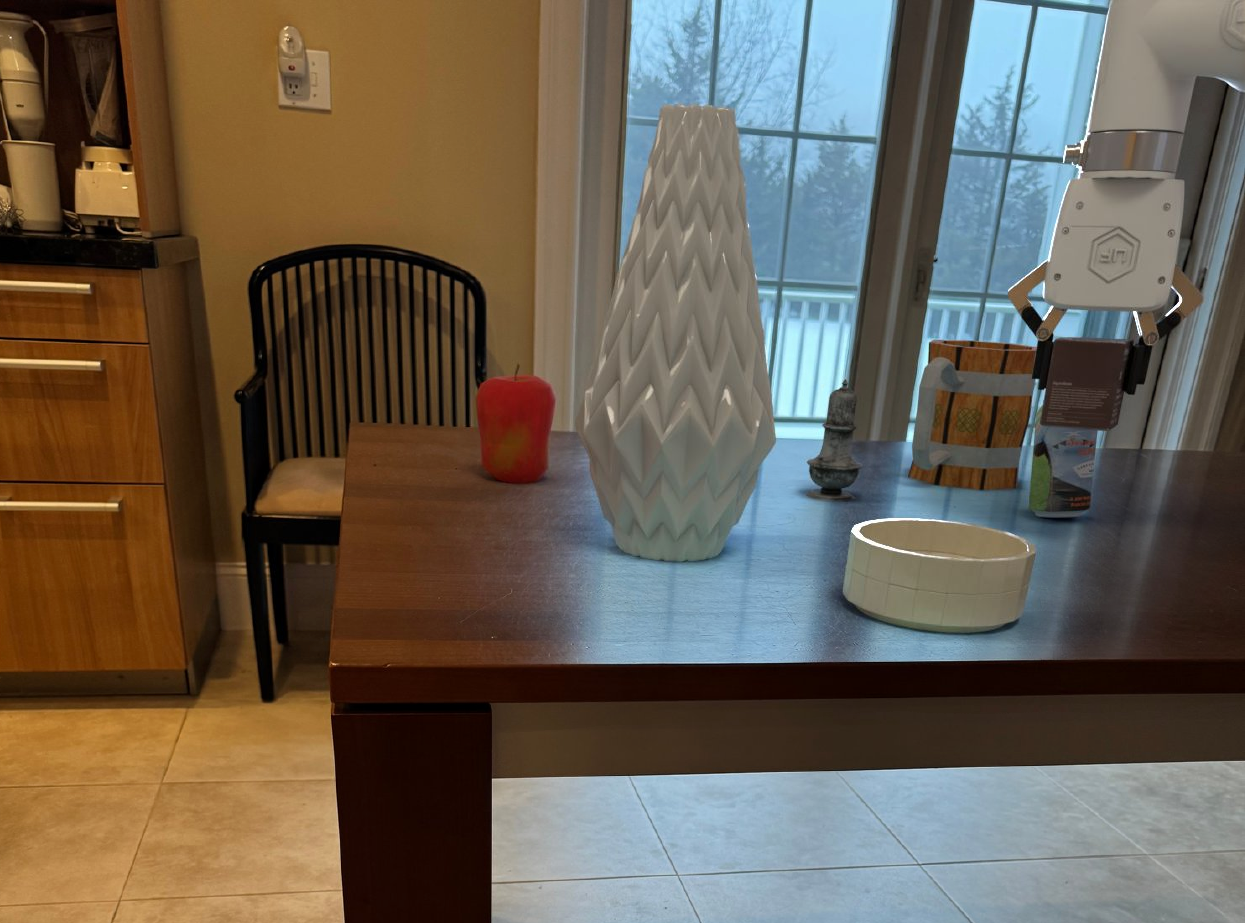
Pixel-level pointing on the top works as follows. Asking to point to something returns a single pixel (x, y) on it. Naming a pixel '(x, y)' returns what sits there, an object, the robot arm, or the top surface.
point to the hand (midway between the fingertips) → (1085, 389)
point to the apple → (515, 426)
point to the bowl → (938, 574)
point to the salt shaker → (836, 449)
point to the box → (1086, 383)
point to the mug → (972, 414)
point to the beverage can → (1061, 470)
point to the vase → (682, 353)
